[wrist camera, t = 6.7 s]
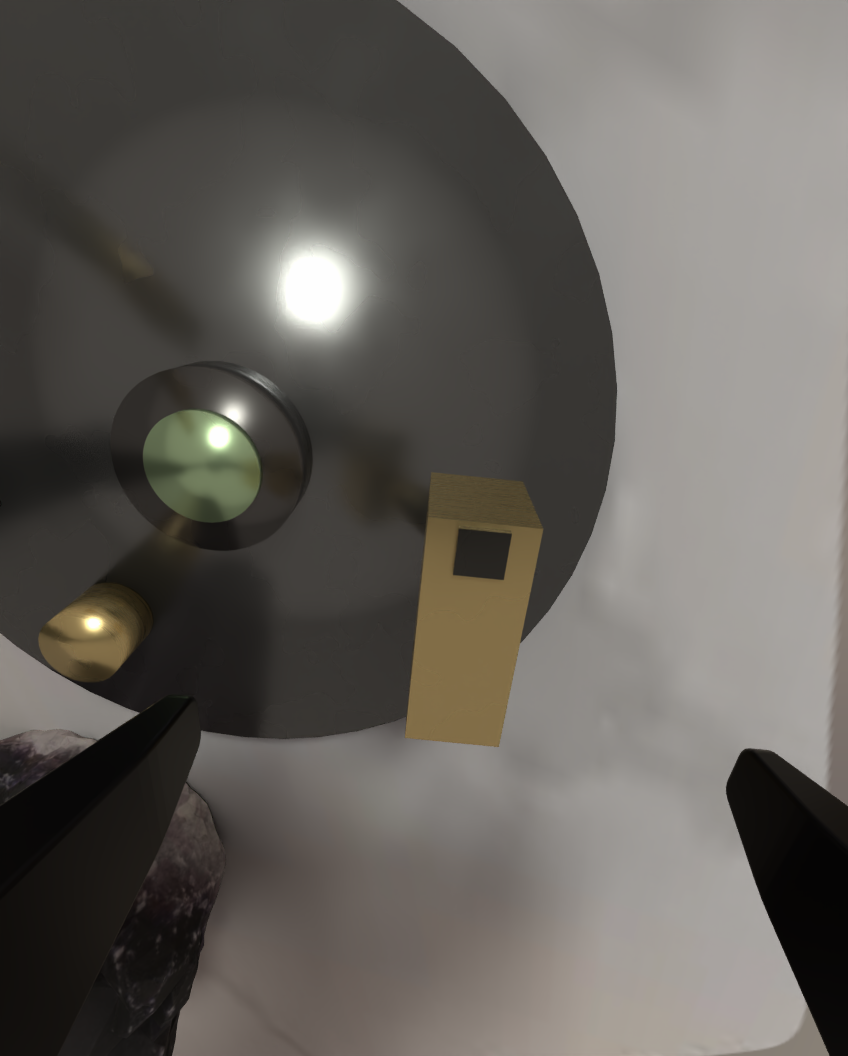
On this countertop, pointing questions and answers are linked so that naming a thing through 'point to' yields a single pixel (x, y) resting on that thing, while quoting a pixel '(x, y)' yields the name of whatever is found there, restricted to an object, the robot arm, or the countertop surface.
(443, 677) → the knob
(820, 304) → the countertop surface
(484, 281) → the levelling plate
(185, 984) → the crystal cluster
